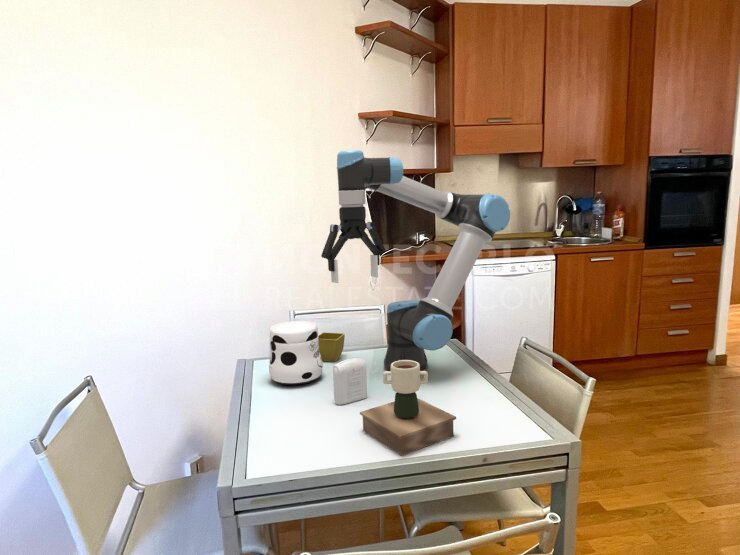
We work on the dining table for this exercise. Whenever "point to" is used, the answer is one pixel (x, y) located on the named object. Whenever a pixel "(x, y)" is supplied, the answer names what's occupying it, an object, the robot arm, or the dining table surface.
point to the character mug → (405, 386)
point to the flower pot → (331, 345)
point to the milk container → (295, 353)
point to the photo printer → (350, 381)
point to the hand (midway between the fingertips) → (355, 279)
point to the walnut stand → (408, 427)
